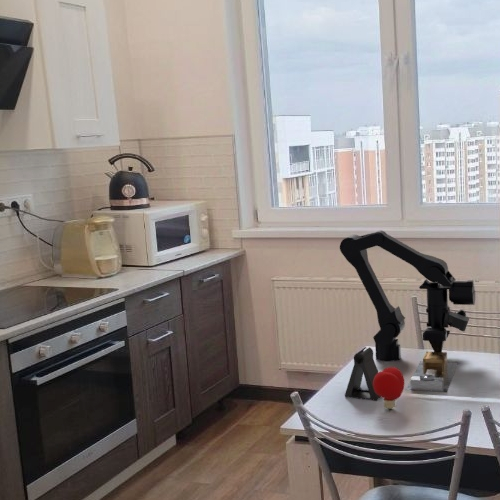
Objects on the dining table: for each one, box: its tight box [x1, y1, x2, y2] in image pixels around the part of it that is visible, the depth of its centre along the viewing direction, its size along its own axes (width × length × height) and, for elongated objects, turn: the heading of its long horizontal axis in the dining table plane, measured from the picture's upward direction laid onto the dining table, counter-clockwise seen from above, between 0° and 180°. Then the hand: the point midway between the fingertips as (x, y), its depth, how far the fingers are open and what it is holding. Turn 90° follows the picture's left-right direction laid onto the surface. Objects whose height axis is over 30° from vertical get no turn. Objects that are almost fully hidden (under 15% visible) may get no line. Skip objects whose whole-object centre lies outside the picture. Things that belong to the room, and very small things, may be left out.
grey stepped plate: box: [405, 360, 458, 395], centre depth 203 cm, size 10×25×4 cm, turn 159°
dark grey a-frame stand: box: [344, 346, 382, 402], centre depth 193 cm, size 9×6×12 cm, turn 59°
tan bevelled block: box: [422, 351, 448, 374], centre depth 208 cm, size 6×7×4 cm
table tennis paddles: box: [373, 366, 405, 411], centre depth 182 cm, size 9×7×10 cm
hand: (438, 357), depth 215 cm, fingers closed
